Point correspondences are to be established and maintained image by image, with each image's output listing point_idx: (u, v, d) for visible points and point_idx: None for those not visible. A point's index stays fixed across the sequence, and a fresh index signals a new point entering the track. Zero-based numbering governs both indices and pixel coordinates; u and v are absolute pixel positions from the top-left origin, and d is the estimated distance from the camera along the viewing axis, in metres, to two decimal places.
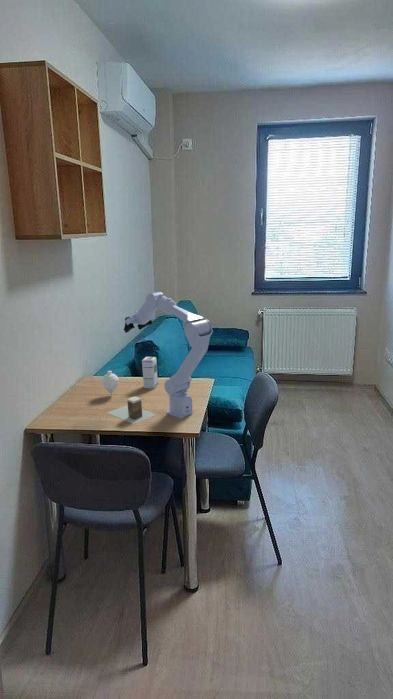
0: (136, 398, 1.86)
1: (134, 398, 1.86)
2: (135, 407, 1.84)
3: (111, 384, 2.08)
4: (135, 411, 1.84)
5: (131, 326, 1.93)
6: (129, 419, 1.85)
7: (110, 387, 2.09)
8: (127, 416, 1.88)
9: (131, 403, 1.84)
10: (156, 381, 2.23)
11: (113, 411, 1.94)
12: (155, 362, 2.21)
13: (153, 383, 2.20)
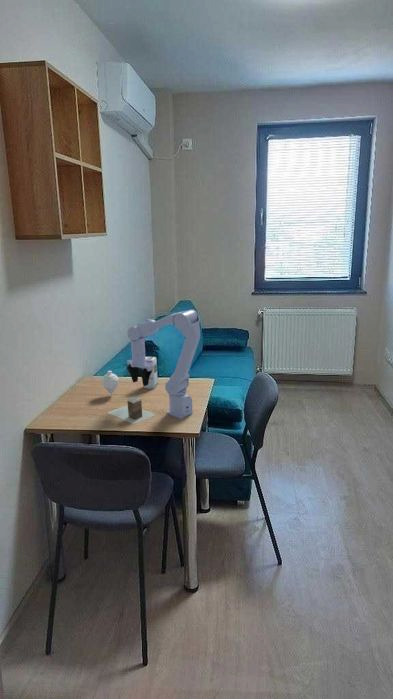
0: (136, 398, 1.86)
1: (134, 398, 1.86)
2: (135, 407, 1.84)
3: (111, 384, 2.08)
4: (135, 411, 1.84)
5: None
6: (129, 419, 1.85)
7: (110, 387, 2.09)
8: (127, 416, 1.88)
9: (131, 403, 1.84)
10: (156, 381, 2.23)
11: (113, 411, 1.94)
12: (155, 362, 2.21)
13: (153, 383, 2.20)
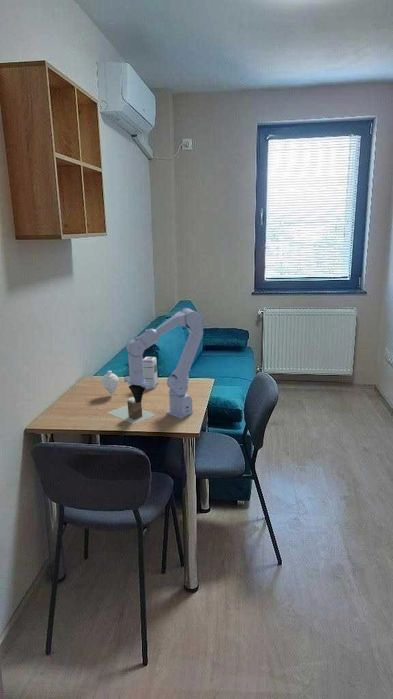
0: None
1: None
2: (135, 407, 1.84)
3: (111, 384, 2.08)
4: (135, 410, 1.84)
5: None
6: (129, 419, 1.85)
7: (110, 387, 2.09)
8: (127, 416, 1.88)
9: (131, 403, 1.84)
10: (156, 381, 2.23)
11: (113, 411, 1.94)
12: (155, 362, 2.21)
13: (153, 383, 2.20)
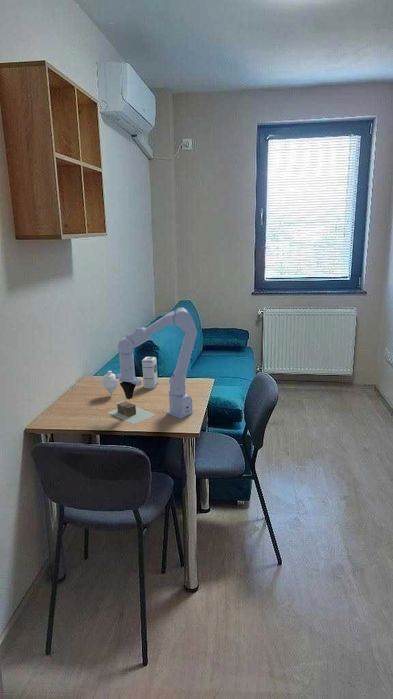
0: None
1: None
2: (121, 404, 1.90)
3: (111, 384, 2.08)
4: (124, 405, 1.89)
5: None
6: (129, 419, 1.85)
7: (110, 387, 2.09)
8: None
9: (118, 407, 1.91)
10: (156, 381, 2.23)
11: (113, 411, 1.94)
12: (155, 362, 2.21)
13: (153, 383, 2.20)
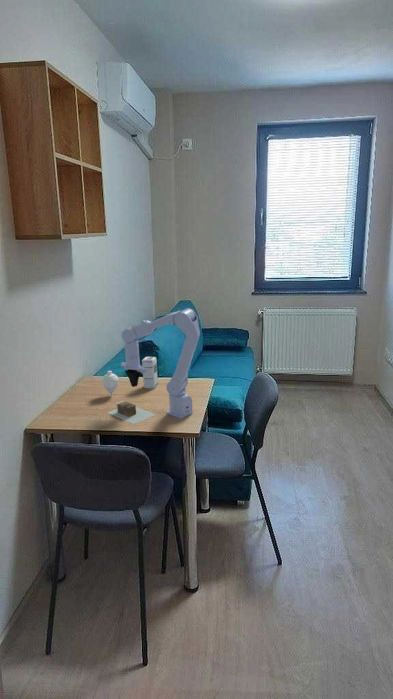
0: None
1: None
2: (121, 404, 1.90)
3: (111, 384, 2.08)
4: (124, 405, 1.89)
5: None
6: (129, 419, 1.85)
7: (110, 387, 2.09)
8: None
9: (118, 407, 1.91)
10: (156, 381, 2.23)
11: (113, 411, 1.94)
12: (155, 362, 2.21)
13: (153, 383, 2.20)
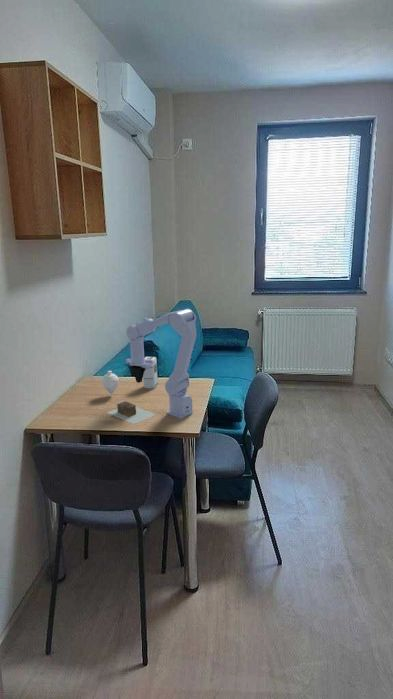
0: None
1: None
2: (121, 404, 1.90)
3: (111, 384, 2.08)
4: (124, 405, 1.89)
5: None
6: (129, 419, 1.85)
7: (110, 387, 2.09)
8: None
9: (118, 407, 1.91)
10: (156, 381, 2.23)
11: (113, 411, 1.94)
12: (155, 362, 2.21)
13: (153, 383, 2.20)
